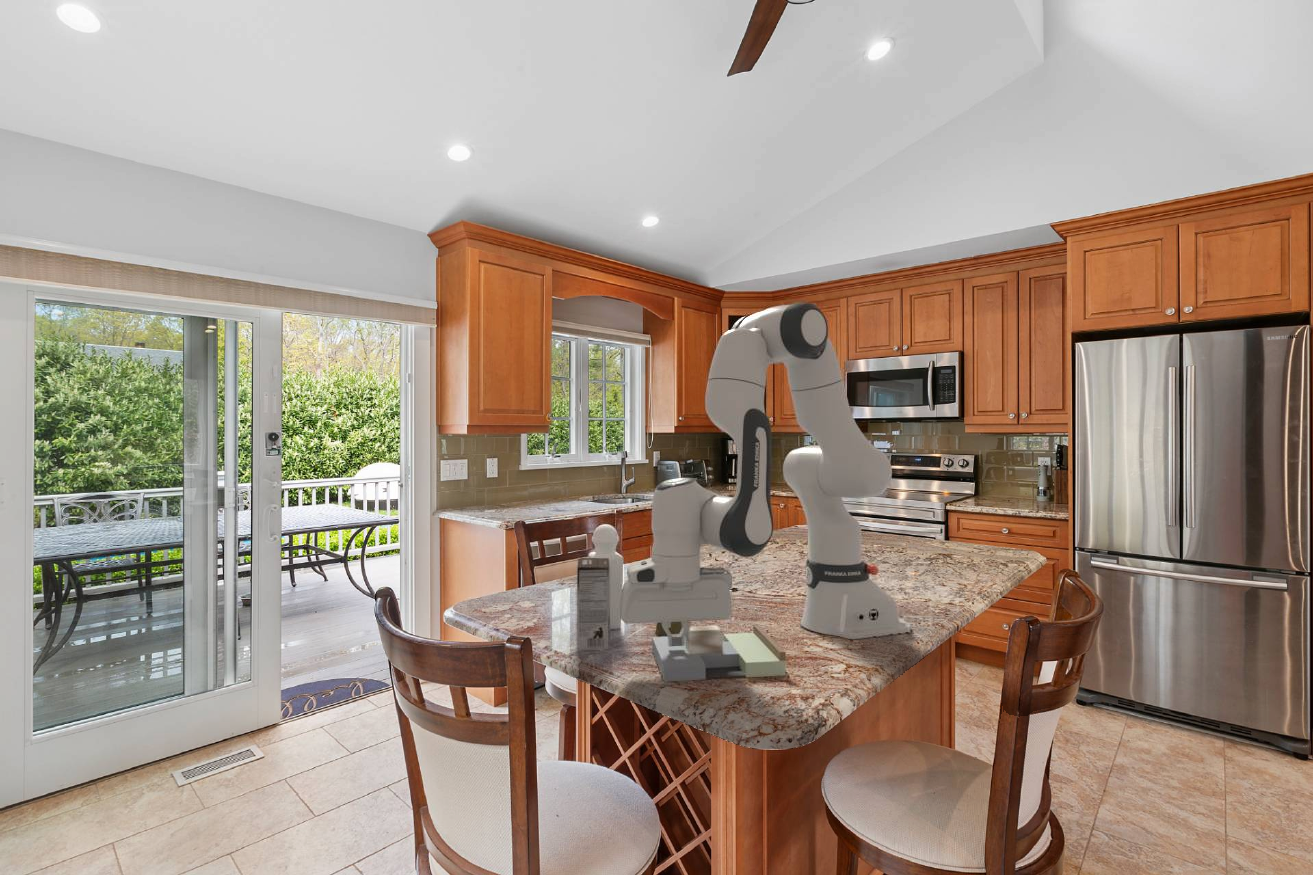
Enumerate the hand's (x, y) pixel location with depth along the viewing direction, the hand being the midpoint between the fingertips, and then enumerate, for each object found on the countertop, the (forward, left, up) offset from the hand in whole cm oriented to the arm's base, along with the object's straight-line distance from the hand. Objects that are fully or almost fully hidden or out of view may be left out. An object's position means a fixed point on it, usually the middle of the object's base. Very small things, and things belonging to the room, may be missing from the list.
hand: (676, 645), depth 115 cm
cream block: (-5, 0, -1) cm, 5 cm away
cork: (-2, -18, -4) cm, 18 cm away
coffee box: (+14, -14, -4) cm, 20 cm away
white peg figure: (+11, -25, -4) cm, 28 cm away
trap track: (-7, 0, -3) cm, 8 cm away
